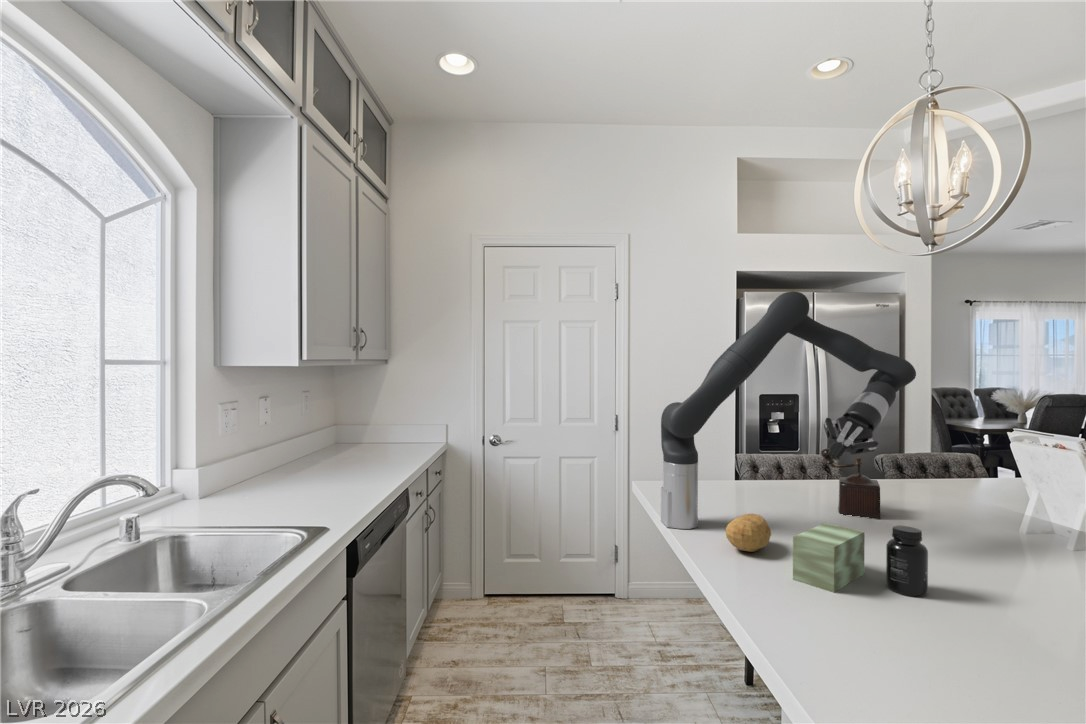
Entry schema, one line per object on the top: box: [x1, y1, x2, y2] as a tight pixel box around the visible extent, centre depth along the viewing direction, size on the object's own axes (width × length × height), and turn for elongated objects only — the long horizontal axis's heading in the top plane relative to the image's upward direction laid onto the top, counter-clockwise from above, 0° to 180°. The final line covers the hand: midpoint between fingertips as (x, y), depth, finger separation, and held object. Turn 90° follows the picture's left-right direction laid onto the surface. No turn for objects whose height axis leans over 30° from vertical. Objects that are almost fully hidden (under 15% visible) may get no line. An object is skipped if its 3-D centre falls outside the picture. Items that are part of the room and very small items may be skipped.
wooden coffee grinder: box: [819, 447, 881, 520], centre depth 162 cm, size 16×11×18 cm
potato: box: [725, 513, 772, 553], centre depth 129 cm, size 10×14×8 cm
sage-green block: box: [792, 522, 866, 593], centre depth 112 cm, size 15×8×9 cm, turn 129°
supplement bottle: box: [885, 525, 929, 597], centre depth 106 cm, size 7×7×12 cm
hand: (833, 456), depth 127 cm, fingers closed
